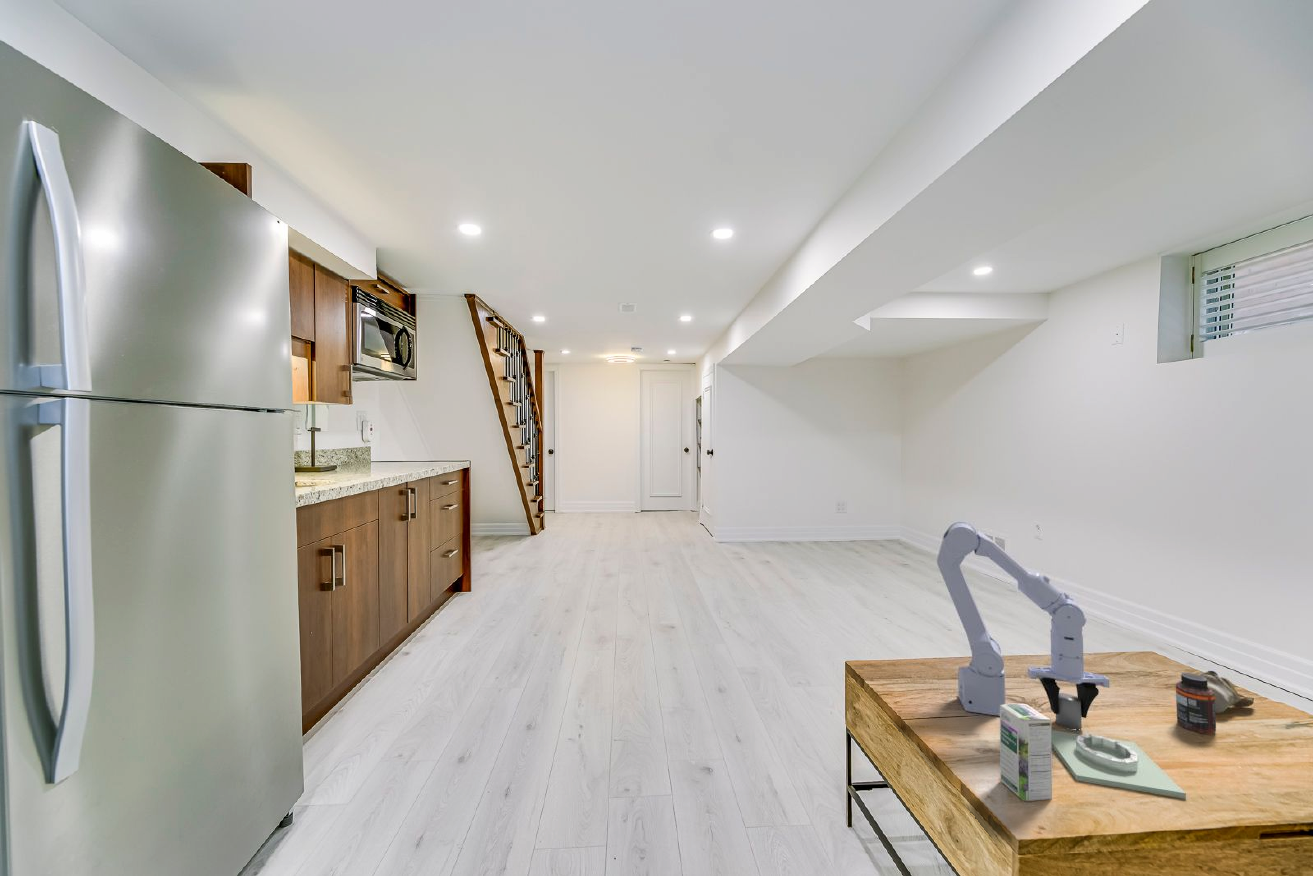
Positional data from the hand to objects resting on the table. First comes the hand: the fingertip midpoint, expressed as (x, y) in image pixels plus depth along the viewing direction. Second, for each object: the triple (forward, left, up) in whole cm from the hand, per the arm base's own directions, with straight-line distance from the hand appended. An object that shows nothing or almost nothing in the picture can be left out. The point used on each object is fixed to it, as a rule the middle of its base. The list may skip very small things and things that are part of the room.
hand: (1068, 713), depth 113 cm
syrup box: (-17, -28, -3) cm, 33 cm away
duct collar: (+1, -14, -2) cm, 14 cm away
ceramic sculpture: (+36, +20, -3) cm, 42 cm away
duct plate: (+1, -14, -2) cm, 14 cm away
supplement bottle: (+26, +7, -3) cm, 27 cm away
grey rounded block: (0, 0, -2) cm, 2 cm away
